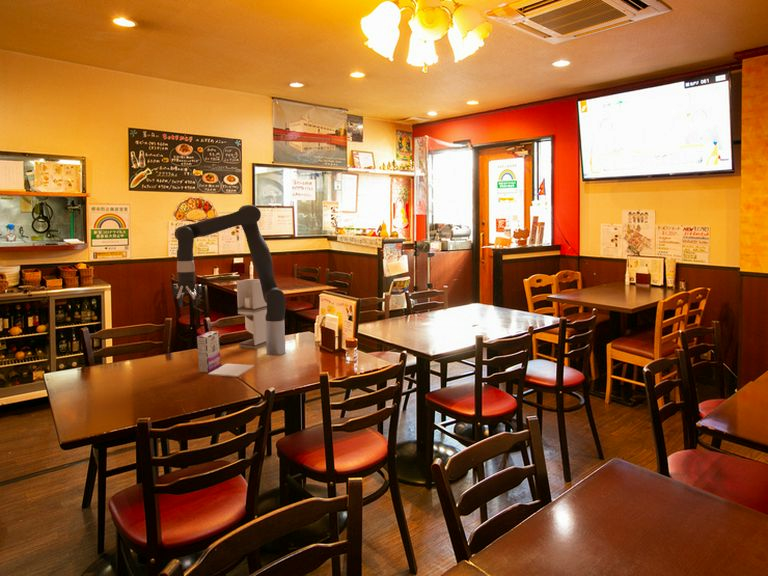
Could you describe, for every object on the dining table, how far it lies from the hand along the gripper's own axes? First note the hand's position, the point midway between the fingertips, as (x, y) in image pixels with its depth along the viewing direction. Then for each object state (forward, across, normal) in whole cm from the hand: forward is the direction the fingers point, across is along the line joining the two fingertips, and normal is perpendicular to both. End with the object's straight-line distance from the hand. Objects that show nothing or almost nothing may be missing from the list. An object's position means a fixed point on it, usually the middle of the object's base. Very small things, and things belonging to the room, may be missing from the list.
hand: (187, 306), depth 244 cm
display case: (+28, -12, -41) cm, 51 cm away
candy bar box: (+28, -12, +4) cm, 31 cm away
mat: (+28, -23, +4) cm, 36 cm away
